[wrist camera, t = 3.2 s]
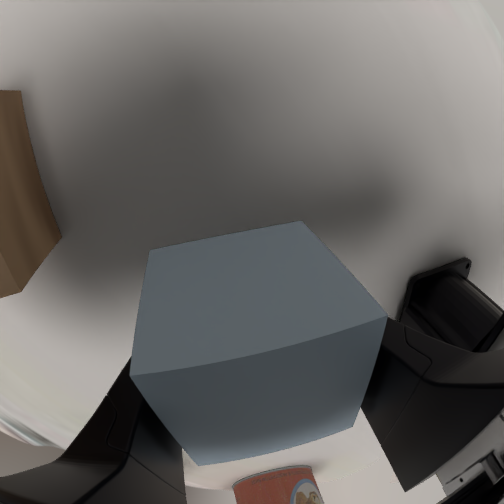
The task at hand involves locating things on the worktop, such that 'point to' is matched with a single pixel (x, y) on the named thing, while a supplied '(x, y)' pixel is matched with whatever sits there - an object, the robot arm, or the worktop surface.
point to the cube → (253, 342)
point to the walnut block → (21, 201)
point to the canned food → (279, 487)
